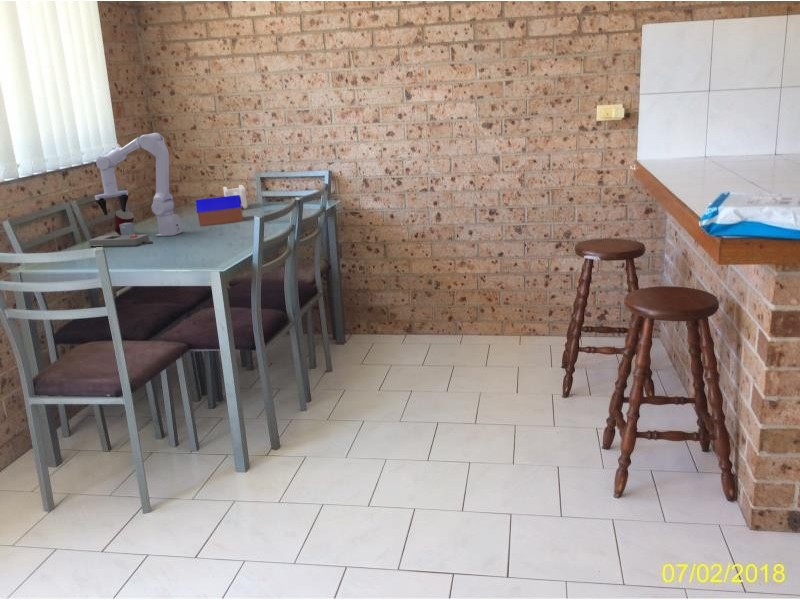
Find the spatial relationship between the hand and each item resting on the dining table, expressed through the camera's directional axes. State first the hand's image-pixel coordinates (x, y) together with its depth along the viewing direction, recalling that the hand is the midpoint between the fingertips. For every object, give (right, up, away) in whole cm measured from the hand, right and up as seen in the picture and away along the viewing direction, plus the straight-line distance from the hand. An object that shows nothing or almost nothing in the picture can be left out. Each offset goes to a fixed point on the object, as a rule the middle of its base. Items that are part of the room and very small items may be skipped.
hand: (114, 213), depth 335 cm
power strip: (+10, -15, -16) cm, 24 cm away
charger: (+8, -12, -5) cm, 15 cm away
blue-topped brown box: (+44, -2, +17) cm, 47 cm away
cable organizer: (+44, +8, +50) cm, 67 cm away
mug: (+1, -9, +5) cm, 11 cm away
